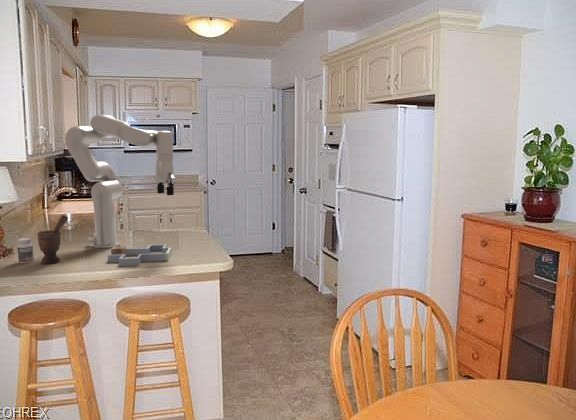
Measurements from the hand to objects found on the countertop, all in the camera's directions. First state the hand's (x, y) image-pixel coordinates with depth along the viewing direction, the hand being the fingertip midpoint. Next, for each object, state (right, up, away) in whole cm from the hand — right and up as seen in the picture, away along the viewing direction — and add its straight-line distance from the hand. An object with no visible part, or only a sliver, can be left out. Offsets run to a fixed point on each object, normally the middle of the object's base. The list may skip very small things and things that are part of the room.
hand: (165, 194), depth 238 cm
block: (-17, -29, -16) cm, 37 cm away
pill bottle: (-54, -30, -22) cm, 66 cm away
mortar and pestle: (-42, -30, -22) cm, 56 cm away
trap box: (-8, -29, -15) cm, 33 cm away
